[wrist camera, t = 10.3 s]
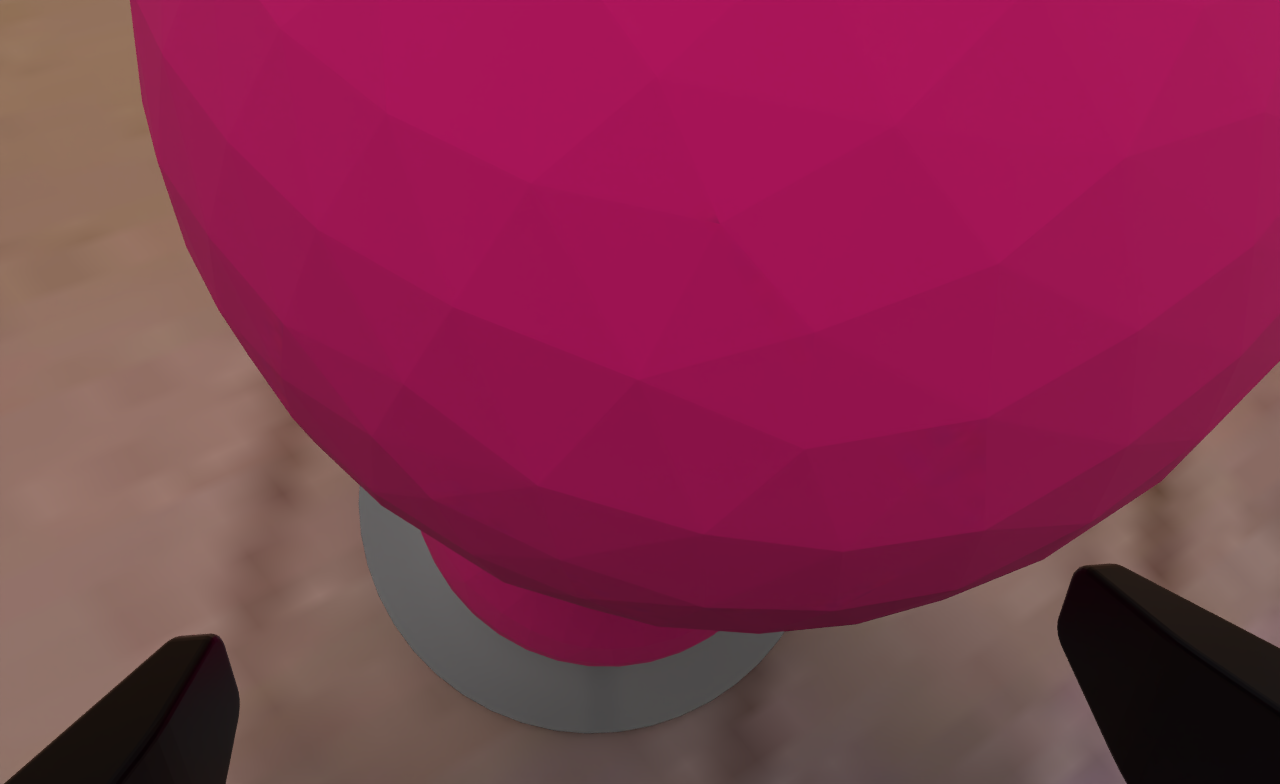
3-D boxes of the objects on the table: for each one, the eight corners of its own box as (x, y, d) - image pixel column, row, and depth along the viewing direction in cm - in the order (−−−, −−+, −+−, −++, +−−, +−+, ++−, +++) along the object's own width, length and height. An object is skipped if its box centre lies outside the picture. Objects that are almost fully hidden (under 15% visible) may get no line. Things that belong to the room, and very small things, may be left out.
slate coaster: (879, 626, 21) (898, 626, 20) (446, 804, 19) (440, 815, 18) (716, 240, 24) (724, 219, 22) (317, 361, 22) (304, 345, 20)
